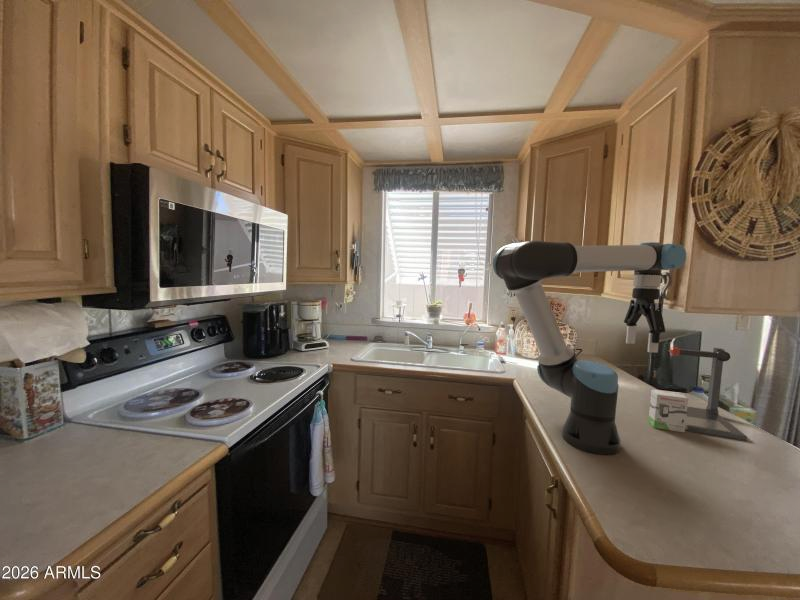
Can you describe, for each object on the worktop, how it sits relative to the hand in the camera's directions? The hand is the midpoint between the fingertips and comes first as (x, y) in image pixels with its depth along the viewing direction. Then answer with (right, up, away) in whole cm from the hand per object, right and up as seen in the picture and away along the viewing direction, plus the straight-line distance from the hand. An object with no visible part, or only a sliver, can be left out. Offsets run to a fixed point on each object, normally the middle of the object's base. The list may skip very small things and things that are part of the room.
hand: (640, 347), depth 113 cm
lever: (+23, -4, +3) cm, 23 cm away
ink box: (+4, -26, -6) cm, 27 cm away
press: (+20, -26, -2) cm, 33 cm away
